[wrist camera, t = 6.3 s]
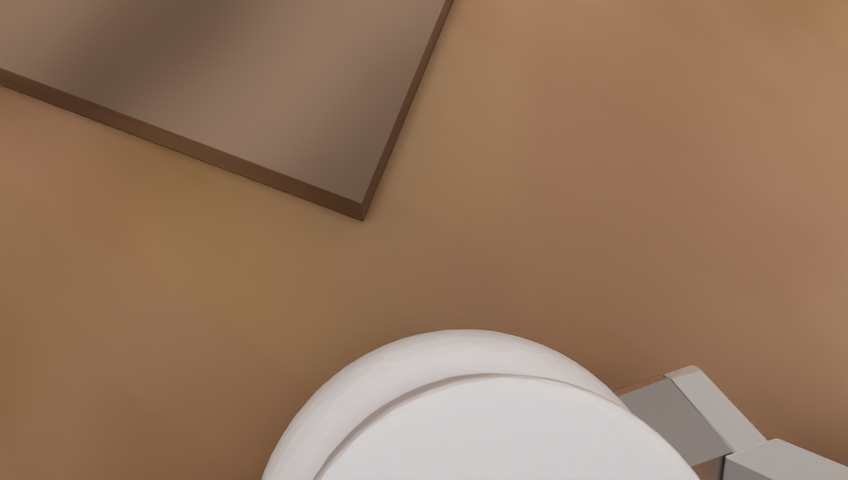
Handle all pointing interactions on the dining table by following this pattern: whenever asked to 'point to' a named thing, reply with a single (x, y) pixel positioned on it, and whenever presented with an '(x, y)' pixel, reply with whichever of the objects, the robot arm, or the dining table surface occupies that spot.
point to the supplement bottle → (469, 418)
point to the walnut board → (236, 80)
